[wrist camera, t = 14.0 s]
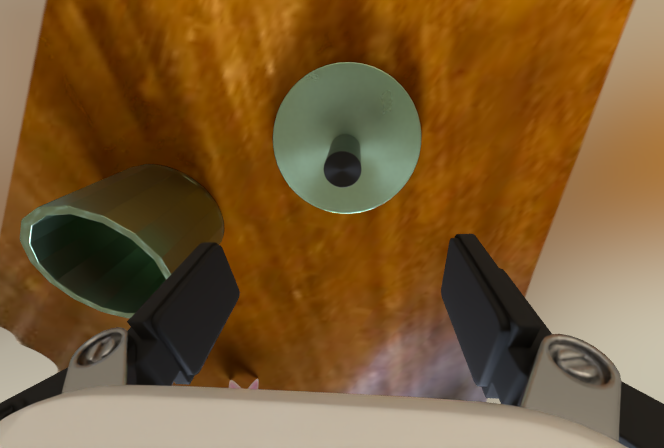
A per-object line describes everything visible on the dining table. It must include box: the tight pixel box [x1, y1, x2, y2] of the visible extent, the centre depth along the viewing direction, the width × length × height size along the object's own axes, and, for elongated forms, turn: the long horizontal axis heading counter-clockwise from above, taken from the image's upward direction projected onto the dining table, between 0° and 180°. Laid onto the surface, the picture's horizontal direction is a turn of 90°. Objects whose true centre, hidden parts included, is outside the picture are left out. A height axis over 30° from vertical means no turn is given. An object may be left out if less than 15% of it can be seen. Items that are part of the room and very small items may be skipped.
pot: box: [20, 164, 224, 318], centre depth 28 cm, size 14×14×10 cm
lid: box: [273, 62, 421, 213], centre depth 23 cm, size 15×15×7 cm
